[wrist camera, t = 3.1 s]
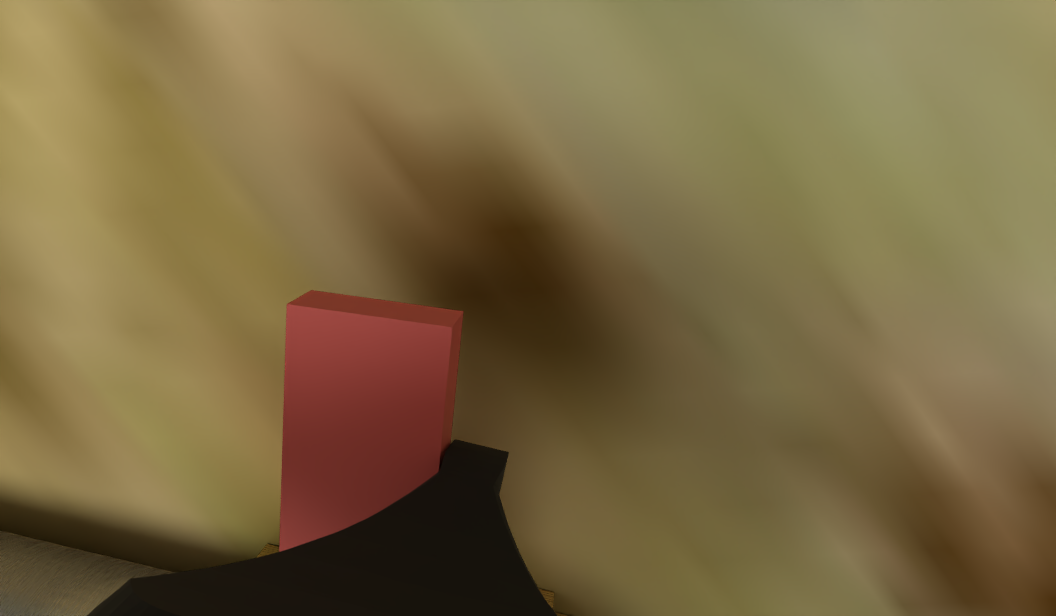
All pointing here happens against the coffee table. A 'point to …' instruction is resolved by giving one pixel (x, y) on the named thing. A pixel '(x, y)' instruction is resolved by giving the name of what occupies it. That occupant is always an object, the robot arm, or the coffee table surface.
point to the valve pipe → (71, 577)
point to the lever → (362, 407)
